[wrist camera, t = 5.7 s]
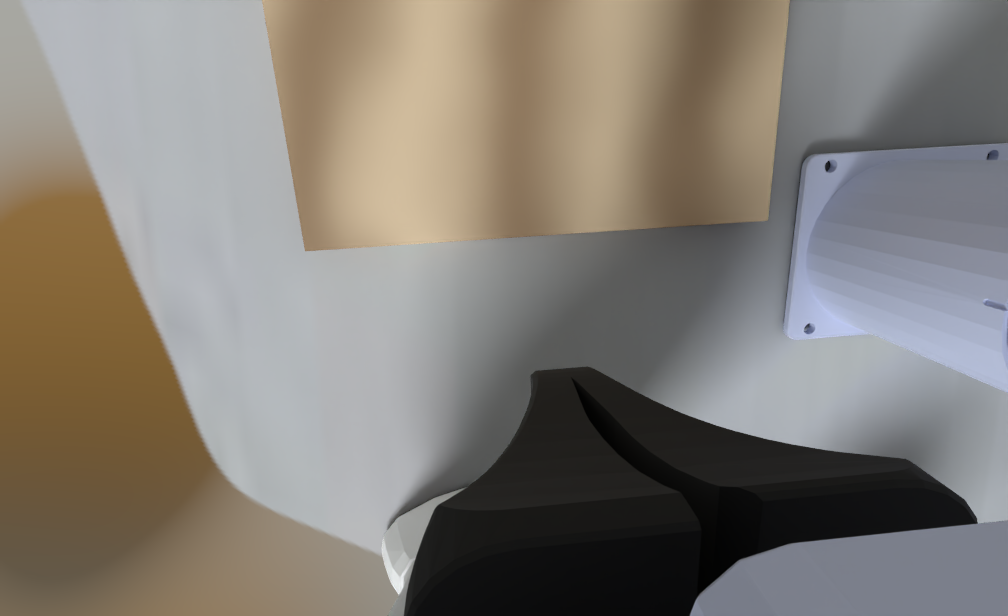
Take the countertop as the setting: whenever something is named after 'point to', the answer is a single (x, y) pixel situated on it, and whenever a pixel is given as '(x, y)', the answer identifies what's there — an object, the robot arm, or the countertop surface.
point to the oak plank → (525, 115)
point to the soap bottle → (406, 547)
